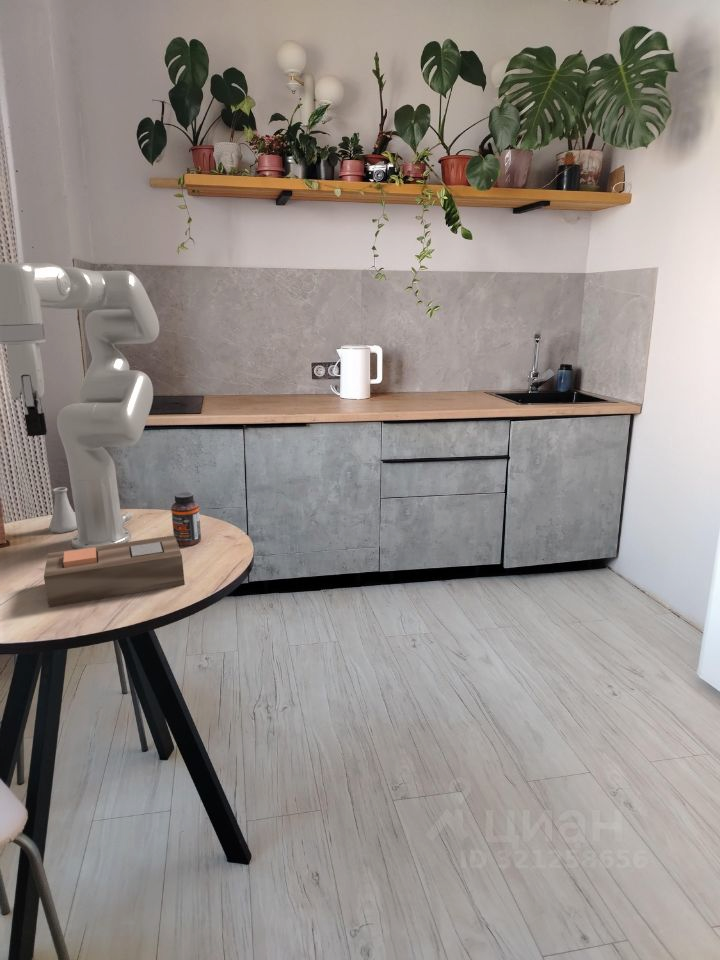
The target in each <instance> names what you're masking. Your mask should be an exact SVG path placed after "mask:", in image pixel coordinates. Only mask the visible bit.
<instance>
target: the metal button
mask: <svg viewBox="0 0 720 960" xmlns="http://www.w3.org/2000/svg"><path fill="white" fill-rule="evenodd" d="M131 553H132V557H139V556H145V555H152V554H159V553H163V551H162V547H161V544H160V542H157V543H150V544H143V545H136V546H131Z"/></svg>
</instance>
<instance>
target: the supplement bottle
mask: <svg viewBox="0 0 720 960" xmlns="http://www.w3.org/2000/svg"><path fill="white" fill-rule="evenodd" d="M194 499H195V498H194V493H193V492H191V491H181V492H178V493H176V494H174V501H175V502H174V503H173V504H172V505H171V508H170V509H171V520H172V530H173V531H172V532H173V535H175V538H176V541H177V543H178V546H182V547H188V546H194V545H196V544H199V543H200V542H201V540H202V533H201V532H202V531H201V519H200V508H199V503H198V502H196V501H195V500H194Z"/></svg>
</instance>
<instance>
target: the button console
mask: <svg viewBox="0 0 720 960" xmlns="http://www.w3.org/2000/svg"><path fill="white" fill-rule="evenodd" d="M157 542H160V544H161V547H162V551H163V553H159V554H152V555H145V556H139V557H132V553H131V546H136V545H143V544H150V543H157ZM179 546H180V545H178V543H177V541H176V538H175V535H174V534H173V535H168V536H167V535H166V536H159V537H154V538H153V537H152V538H147V539H146V538H145V539H140V540H139V539H138V540H133V541H127V542H124V543H117V544H110V545H103V546H96V554H97V562H98V563H93V564H86V565H79V566H73V567H66V568H64V564H63V559H64V552H66V551H73V550H80V549H77V548H75V549H70V550H62V551H56V552H48V553H47V555H46V561H45V568H44V574H43V580H44V586H45V593H46V599H47V604H48V608H53V607H59V606H65V605H71V604H78V603H83V602H88V601H89V602H90V601H95V600H102V599H106V598H107V599H108V598H113V597H118V596H125V595H130V594H135V593H142V592H147V591H153V590H154V591H155V590H160V589H165V588H171V587H172V588H173V587H177V586H183V585H186V584H185V582H186V581H185V574H184V563H183V555H182V552H181V549H180V547H179ZM89 548H94V547H89ZM82 549H87V548H82Z"/></svg>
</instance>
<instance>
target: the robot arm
mask: <svg viewBox="0 0 720 960" xmlns="http://www.w3.org/2000/svg"><path fill="white" fill-rule="evenodd" d="M42 308H46V309H55V310H56V309H59V310H86V311H90V312H89V313H88V314H87V316H86V318H85V323H84V329H85V335H86V339H87V340H86V341H87V344H88V348H89V351H90V355H91V361H90V364H89V367H88V368H87V371H86V374H85V376H84V378H83V380H82V382H81V384H80V388H79V391H78V400H79V402H78V403H77V402H75V403H71V404H69V405H67V406H65V407H63V408H61V410H60V411H59V412H58V414H57V417H56V426H57V427H56V428H57V430H58V431H57V432H58V434H59V437H60V440H61V443H62V446H63V448H64V452H65V457H66V460H67V467H68V474H69V480H70V482H69V483H70V486H71V495H72V500H73V509H74V513H75V516H76V523H77V529H76V531H77V534H76V535H74V537H72V538H71V546H72V547H73V548H75V549H82V548H89V547H96V546H103V545H110V544H117V543H124V542H129V540H130V539H131V536H132V535H131V534H132V533H131V531H130V530H129V529H127V528H126V527H125V526H124V525H125V524H126V523H127V522H129V521H130V520H131V519H132V518H133V517H132V514H131V513H130V512H124V513H123V514H122V512H121V505H120V496H119V488H118V487H119V486H118V481H117V474H116V473H117V472H116V466H115V462H114V459H113V458H112V457H111V455H110V453H109V452H108V451H107V450H106V448H105V447H107V448H108V447H110V448H111V447H131V446H134V445H135V444H137V443H138V442H139V440H140V439H141V438H142V435H143V432H144V430H145V426H146V423H147V421H148V418H149V414H150V412H151V409H152V406H153V405H152V404H153V400H154V387H153V383H152V380H151V378H150V377H149V375H147V374H146V373H145V372H143V371H140V370H138V369H137V370H136V369H135V370H134V369H130V364H129V361H128V360H127V358H126V357H125V355H124V354H123V353H122V352H121V351H120V350H119V349H117V348H116V346H115V345H135V344H137V345H138V344H139V345H140V344H150V343H153V342H154V341H156V340H157V338H158V337H159V335H160V322H159V318H158V316H157V313H156V311H155V308H154V306H153V304H152V302H151V300H150V298H149V295H148V293H147V292H146V289H145V287H144V286H143V284H142V281H141V280H140V279H139V278H138V277H137V276H136V275H135V273H133V272H131V271H129V270H90V269H85V268H80V267H75V266H59V265H57V264H55V263H51V262H28V263H27V262H25V263H24V262H0V345H6V347H5V348H6V359H7V360H6V361H7V368H8V376H9V382H10V389H11V399H13V400H14V401H18V400H19V398H20V397H21V398H22V404H23V410H24V420H25V428H26V434H27V436H28V437H39V436H46V435H47V433H48V430H47V425H46V424H47V423H46V416H45V412H43V411H44V410H43V404H42V398H43V396H44V394H45V379H44V370H43V362H42V361H43V360H42V354H41V349H40V344H41V343H47V342H46V341H47V339H46V334H45V332H46V331H45V328H44V318H43V313H42Z"/></svg>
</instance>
